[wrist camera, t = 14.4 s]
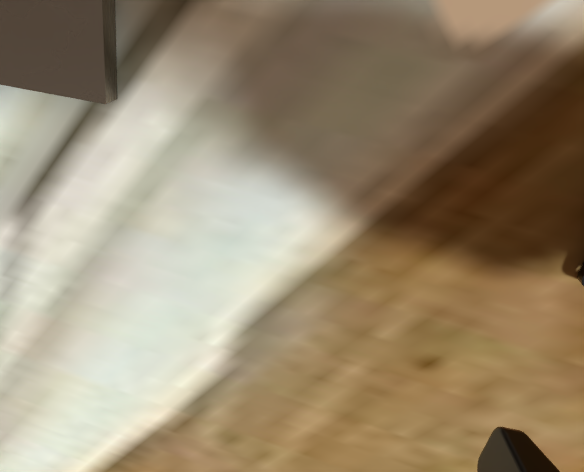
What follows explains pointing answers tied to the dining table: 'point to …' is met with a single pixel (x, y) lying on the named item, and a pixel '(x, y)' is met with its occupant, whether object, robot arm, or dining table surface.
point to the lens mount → (60, 47)
